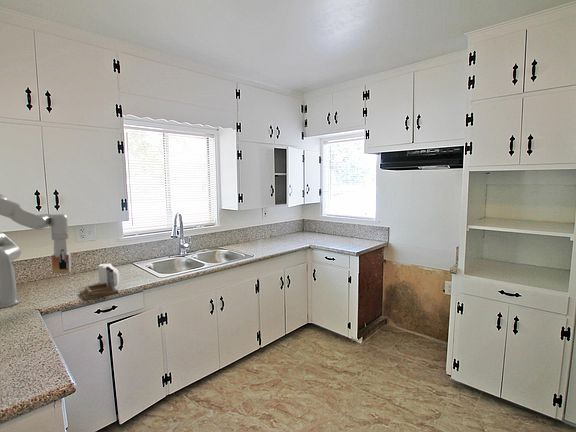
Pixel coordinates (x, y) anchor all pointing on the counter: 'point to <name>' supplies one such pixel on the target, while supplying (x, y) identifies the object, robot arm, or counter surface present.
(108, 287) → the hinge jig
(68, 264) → the small box
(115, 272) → the corner bracket
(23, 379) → the counter surface
